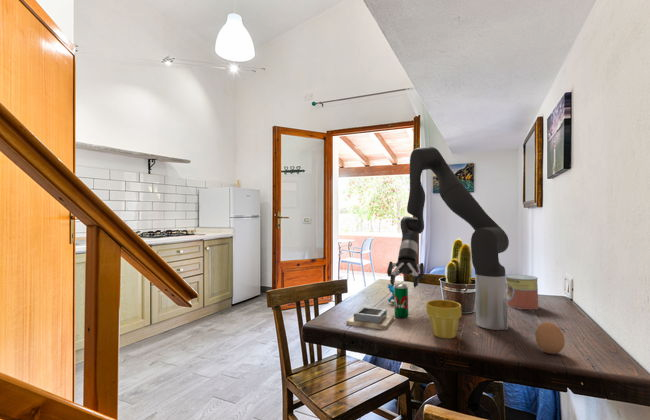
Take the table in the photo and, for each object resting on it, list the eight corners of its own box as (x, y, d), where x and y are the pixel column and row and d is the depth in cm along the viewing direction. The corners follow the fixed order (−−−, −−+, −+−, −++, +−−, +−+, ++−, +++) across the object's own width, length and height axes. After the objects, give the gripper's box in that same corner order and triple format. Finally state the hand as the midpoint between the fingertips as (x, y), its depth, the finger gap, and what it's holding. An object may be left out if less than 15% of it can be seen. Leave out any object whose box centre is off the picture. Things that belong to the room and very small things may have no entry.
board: (393, 319, 118) (393, 315, 118) (386, 329, 107) (385, 325, 107) (357, 315, 123) (357, 312, 123) (346, 324, 112) (346, 321, 113)
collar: (386, 316, 117) (386, 309, 118) (380, 323, 109) (380, 316, 109) (362, 313, 121) (361, 306, 121) (353, 320, 113) (353, 313, 113)
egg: (568, 359, 82) (567, 327, 83) (539, 356, 85) (537, 324, 85) (560, 350, 88) (559, 319, 89) (533, 347, 91) (532, 317, 91)
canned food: (501, 302, 139) (500, 274, 139) (528, 302, 138) (527, 274, 139) (515, 310, 128) (514, 279, 128) (545, 309, 127) (543, 279, 127)
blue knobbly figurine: (402, 301, 136) (387, 283, 141) (393, 310, 137) (377, 292, 142) (409, 299, 146) (394, 282, 150) (400, 308, 147) (385, 290, 151)
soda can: (409, 315, 122) (408, 283, 122) (407, 319, 117) (406, 286, 118) (396, 314, 124) (395, 282, 124) (393, 318, 119) (392, 285, 120)
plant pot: (427, 339, 98) (426, 306, 98) (426, 328, 108) (425, 298, 108) (464, 342, 95) (463, 308, 95) (459, 330, 105) (458, 300, 105)
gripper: (389, 246, 137) (383, 278, 126) (424, 247, 131) (421, 281, 120) (392, 257, 142) (387, 289, 131) (426, 259, 136) (423, 292, 125)
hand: (403, 285), depth 126 cm, fingers open, 8 cm apart
